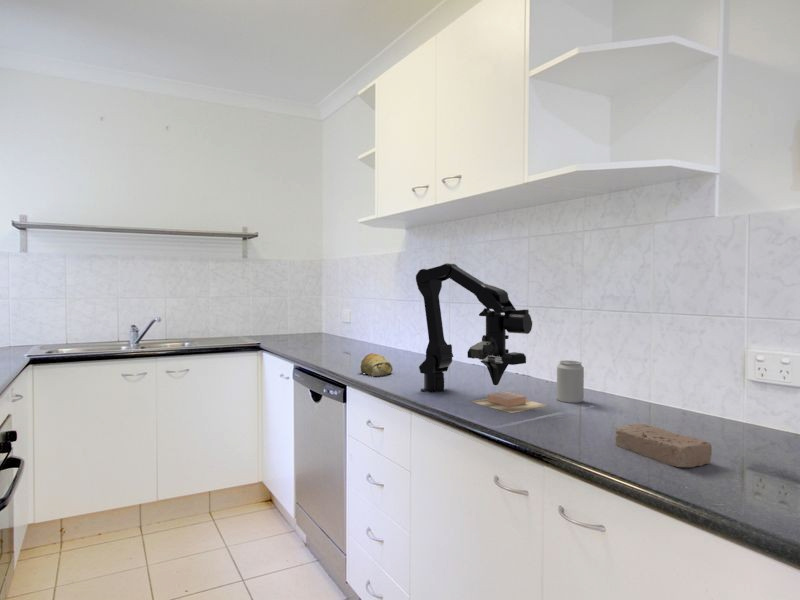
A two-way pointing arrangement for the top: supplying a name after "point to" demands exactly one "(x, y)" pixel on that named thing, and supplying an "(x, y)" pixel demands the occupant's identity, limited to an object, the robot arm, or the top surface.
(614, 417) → the top surface
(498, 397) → the tile
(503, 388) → the top surface
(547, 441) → the top surface
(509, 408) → the board
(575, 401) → the can
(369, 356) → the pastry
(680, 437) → the brick
